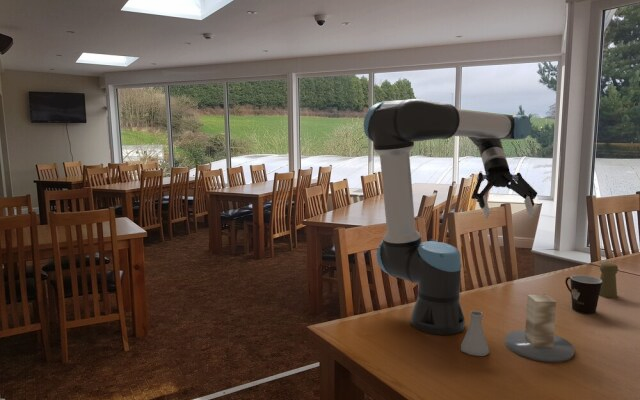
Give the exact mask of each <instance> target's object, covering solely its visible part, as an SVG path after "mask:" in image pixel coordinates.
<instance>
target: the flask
mask: <svg viewBox="0 0 640 400" xmlns="http://www.w3.org/2000/svg"><path fill="white" fill-rule="evenodd" d="M469 315H470V321H469V322H470V323H469V325H468V329H467V330H466V334H465V336H464V338H463V340H462V342H461V344H460V351H461V352H463V353H465V354H468V355H470V356H477V357H485V356H486V355H488V354H490V349H489V346H488V341H487V339H486V337H485V336H486V335H485V333H484V330H483V324H482V321H483V318H482V317H483V316H484V313H483V311H478V310H471V311H469Z"/></svg>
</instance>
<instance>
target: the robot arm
mask: <svg viewBox="0 0 640 400" xmlns="http://www.w3.org/2000/svg"><path fill="white" fill-rule="evenodd" d="M531 128H532V123H531V119H530V118H529V117H528V116H527V115H525V114H513V115H512V114H504V113H503V114H502V113H494V112H487V111H479V110H478V111H477V110H469V109H462V108H461V109H460V108H457V107H456V106H455V105H453V104H452V103H451V104H450V103H443V102H439V101H433V100H428V99H421V98H409V99H398V100H396V99H395V100H384V101H379V102H376V103H374V104H373V105H372V106H370V108H369V109H368V111H367V112H366V114H365V116H364V119H363V131H364V134H365V136H366V137H367V138H368V140H370V141H371V142H373V150H374V152H376V153H377V154H378V155H379V159H380V171H381V183H382V192H383V203H384V215H385V225H386V232H385V233H384V235H383V236H382V240H381V241H380V243H379V244H378V247H379V248H377V250H376V260H377V261H376V262H377V264H378V266H379V268H380V270H382V271H383V272H384V273H386V274H387V275H390V276H392V277H393V278H396V279H397V278H399V279H402V280H404V281H408V282H411V283H413V284H417V298H416V300H415V304H414V305H413V306H414V307H413V310H412V312H411V315H410V323H411V325H412V327H414V329H417V330H419V331H420V332H423V333H427V334H432V335H437V336H438V335H439V336H441V335H442V336H443V335H444V336H445V335H446V336H447V335H454V334H455V335H456V334H458V333H461V332H463V331H464V330H465V326H466V324H465V323H466V319H465V315H464V312H463V309H462V305H461V301H460V291H461V269H462V262H461V261H462V260H461V254H460V253H461V252H460V250H458V248H457V247H455V246H454V245H451V244H449V243H446V242H442V241H441V242H439V241H434V240H429V241H423V242H422V234H421V233H420V231H418V230H417V229H416V220H415V209H414V198H413V197H414V196H413V195H414V193H413V185H412V184H413V183H412V171H411V158H410V152H411V150H412V149H413V148H414V146H415V142H422V141H430V140H431V141H432V140H448V139H450V138H453V137H466V138H467V139H469V140H470V141H471V142H472V144H474V145H475V146H476V148H478V150H479V154H480V157H481V162H482V165H483V169H484V173H485V174H484V173H483V172H479V173H478V175H477V177H476V179H477V180H476V181H477V182H476V185H475V186H474V189H473V192H472V195H471V197H470V198H471V199H472V200H475V199H476V202H477V203H478V205H479V208H480V209H482V211H483V214H484V218H485V219H488V217H489V216H490V213H491V212H490V207H489V203H488V199H487V196H486V194H487V193H488V192H489V191H490V190H491V189H492V188H493V187H495V188H507V189H508V190H511V191H513V192H514V193H516V194H517V195H518V196H520V197H522V199H524V200H523V202H524V203H523V204H524V205H525V209H526V212H527V215H528V217H529V219H532V218H533V217H534V214H536V213H535V210H534V206H535V202H534V200H535V199H536V197H537V196H538V192H537V191H536V190H535V189H534V188H533V186H531V184H530V183H529V182H527V181H526V180H525V179H524V178H523V176H522V174H521V173H520V172H517V173H516V174H512V173H511V172H510V167H509V164H508V161H507V157H506V154H505V150H504V148H503V144H502V140H515V141H516V140H525V139H526V138H527V137H529V135H530V132H531ZM485 180H486V181H487V182H488V183H487V184H486V185H485V187H484V188H483V189H482V190H481V191H480V193H478V192H479V190H480V187H481V185H482V182H484V181H485Z"/></svg>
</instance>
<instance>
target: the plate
mask: <svg viewBox="0 0 640 400" xmlns="http://www.w3.org/2000/svg"><path fill="white" fill-rule="evenodd" d="M525 330H526V329H519V330H514V331H513V330H512V331H511V332H508V333H507V334H506V336H505V340H504V341H505V343H504V344H505V345H506V347H507V348H508V349H509V350H510V351H511V352H513V353H515V354H516V355H518V356H521V357H524V358H527V359H529V360H533V361H539V362H546V363H561V362H566V361H567V362H568V361H569V360H571V359H573V357H574V354H575V347H574V345H573V344H572V343H571V342H570V341H568V340H567V339H565V338H563V337H561V336H558V335H555V334H554V343H553V347H533V346H532V345H531V344H530V343H529V342H528V341H527V340H526V339H525Z"/></svg>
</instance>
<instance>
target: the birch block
mask: <svg viewBox="0 0 640 400" xmlns="http://www.w3.org/2000/svg"><path fill="white" fill-rule="evenodd" d="M526 299H527V300H526V314H525V315H526V316H525V329H524V330H525V339H526V340H527V341H528V342H529V343H530V344H531V345H532V346H533V347H553V343H554V335H555V326H556V325H555V324H556V312H557V311H556V310H557V301H556V300H555V299H554V298H552V297H550V296H549V295H548V294H527V298H526Z"/></svg>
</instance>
